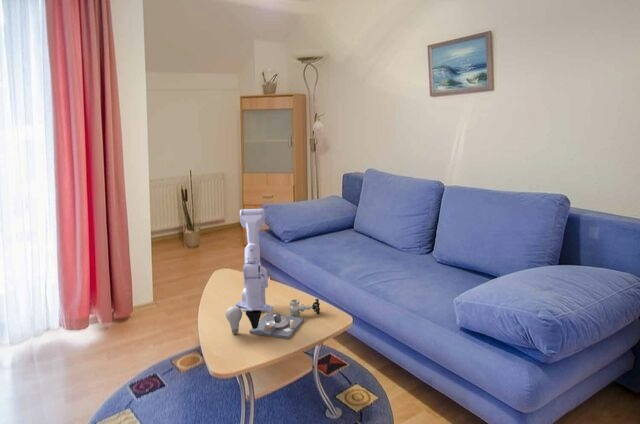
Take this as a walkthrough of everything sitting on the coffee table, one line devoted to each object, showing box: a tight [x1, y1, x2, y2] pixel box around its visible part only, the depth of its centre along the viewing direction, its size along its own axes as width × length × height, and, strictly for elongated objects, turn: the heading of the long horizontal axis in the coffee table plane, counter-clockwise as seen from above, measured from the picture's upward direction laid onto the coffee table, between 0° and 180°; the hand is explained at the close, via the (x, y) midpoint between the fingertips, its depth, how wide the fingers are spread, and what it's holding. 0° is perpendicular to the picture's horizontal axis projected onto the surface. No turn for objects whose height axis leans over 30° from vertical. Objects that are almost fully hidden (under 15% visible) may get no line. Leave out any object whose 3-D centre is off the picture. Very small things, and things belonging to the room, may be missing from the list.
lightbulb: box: [225, 305, 243, 335], centre depth 170 cm, size 6×6×11 cm
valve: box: [289, 298, 321, 317], centre depth 186 cm, size 7×7×12 cm
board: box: [249, 312, 305, 340], centre depth 176 cm, size 16×16×4 cm
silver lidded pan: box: [264, 312, 289, 334], centre depth 174 cm, size 14×9×4 cm, turn 161°
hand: (255, 327), depth 172 cm, fingers closed
